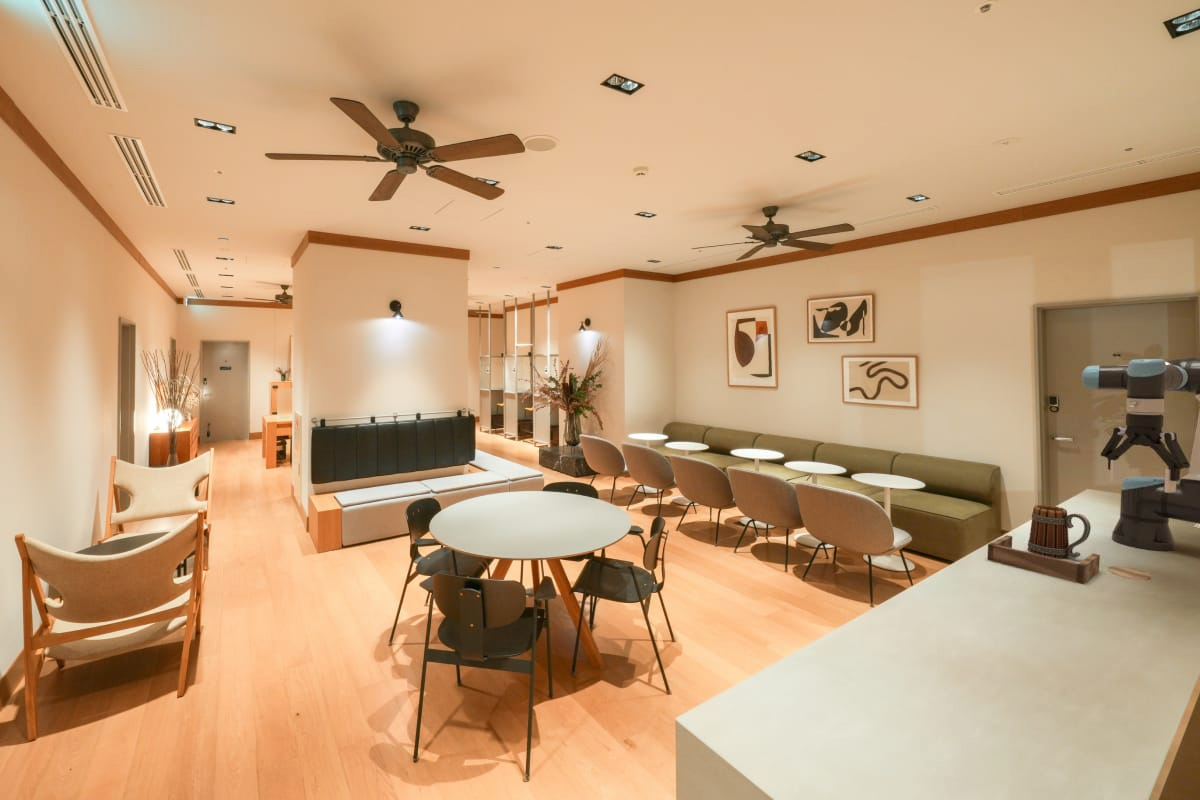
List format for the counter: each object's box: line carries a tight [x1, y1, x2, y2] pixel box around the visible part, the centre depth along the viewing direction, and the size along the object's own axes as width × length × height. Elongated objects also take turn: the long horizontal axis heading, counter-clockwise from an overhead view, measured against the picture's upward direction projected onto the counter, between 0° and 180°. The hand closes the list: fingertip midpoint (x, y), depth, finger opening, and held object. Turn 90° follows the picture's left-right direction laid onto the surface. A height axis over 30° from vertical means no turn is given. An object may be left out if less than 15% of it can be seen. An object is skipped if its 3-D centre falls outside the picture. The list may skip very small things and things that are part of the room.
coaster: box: [1107, 566, 1152, 581], centre depth 156 cm, size 9×9×1 cm
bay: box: [986, 535, 1101, 585], centre depth 163 cm, size 16×23×5 cm
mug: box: [1027, 504, 1092, 559], centre depth 171 cm, size 16×11×15 cm
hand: (1141, 486), depth 153 cm, fingers open, 13 cm apart
